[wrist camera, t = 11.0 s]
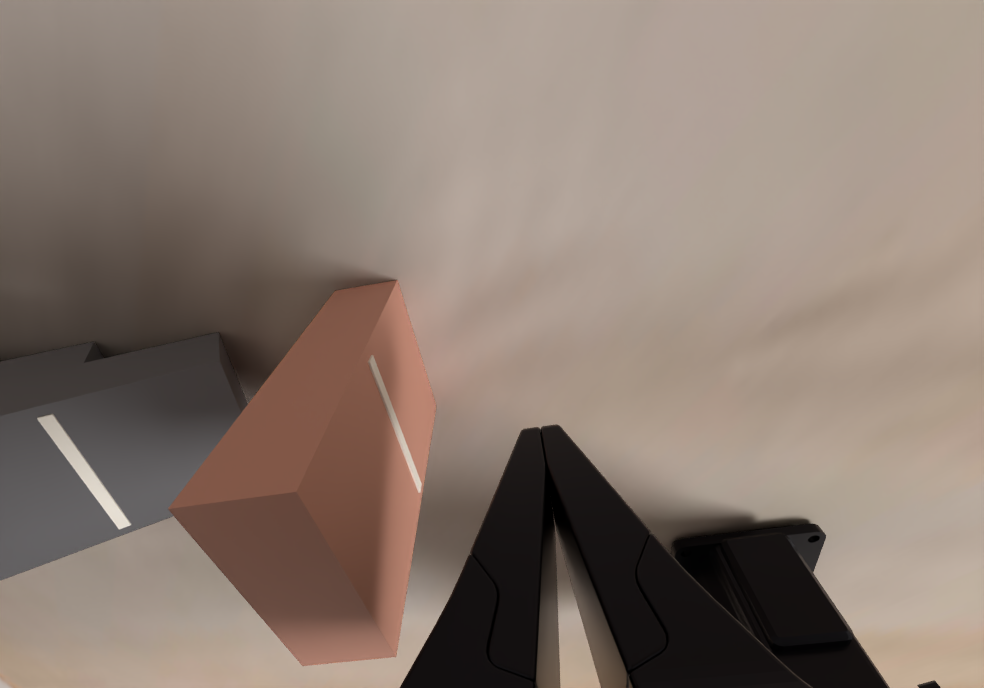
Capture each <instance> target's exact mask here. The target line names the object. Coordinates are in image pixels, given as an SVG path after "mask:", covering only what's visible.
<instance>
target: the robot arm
mask: <svg viewBox="0 0 984 688" xmlns="http://www.w3.org/2000/svg"><path fill="white" fill-rule="evenodd" d="M551 501H552V502H551ZM552 508H553V509H552ZM553 514H554V516H553ZM554 520H555V524H554ZM555 525H556V529H557V533H558V537H559V541H560V544H561V548H562V551H563V555H564V559H565V562H566V566H567V569H568V573H569V576H570V580H571V583H572V587H573V590H574V594H575V597H576V601H577V604H578V608H579V611H580V615H581V619H582V622H583V626H584V629H585V633H586V636H587V640H588V643H589V647H590V650H591V654H592V657H593V661H594V664H595V668H596V672H597V675H598V679H599V682H600V686H601V688H890V687H889V686H888V684H887V683H886V681H885V680H884V679H883V677H882V676H881V674H880V673H879V671H878V670H877V668H876V667H875V665H874V664H873V662H872V661H871V659H870V658H869V656H868V655H867V653H866V652H865V650H864V649H863V648H862V646H861V645H860V643H859V642H858V640H857V639H856V637H855V636H854V634H853V632H852V630H851V628H850V627H849V625H848V624H847V622H846V621H845V619H844V618H843V616H842V615H841V614H840V612H839V611H838V609H837V608H836V606H835V605H834V603H833V602H832V600H831V599H830V597H829V596H828V594H827V593H826V591H825V590H824V588H823V587H822V586H821V584H820V583H819V581H818V580H817V578H816V577H815V575H814V574H813V572H814V569H815V566H816V563H817V560H818V558H819V555H820V552H821V549H822V547H823V544H824V541H825V538H826V535H825V533H824V532H823V531H822V530H821V528H820V527H819V526H818V525H816V524H805V525H797V526H788V527H779V528H771V529H762V530H753V531H745V532H736V533H727V534H719V535H710V536H702V537H693V538H684V539H680V540H677V541H675V542H674V543H673V545H672V550H671V554H670V553H669V552H668V551H667V550H666V548H665V547H664V546H663V545H662V544H661V543H660V541H659V540H658V539H657V538H656V537H655V536H654V535H653V534H651V532H650V530H649V529H648V528H647V527H646V525H645V524H644V523H643V522H642V521H641V520H640V518H639V517H638V516H637V515H636V514H635V513H634V511H633V510H632V509H631V508H630V507H629V506H628V504H627V503H626V502H625V501H624V500H623V499H622V497H621V496H620V495H619V494H618V493H617V492H616V490H615V489H614V488H613V487H612V486H611V485H610V484H609V482H608V481H607V480H606V479H605V478H604V477H603V475H602V474H601V473H600V472H599V471H598V470H597V468H596V467H595V466H594V465H593V464H592V463H591V461H590V460H589V459H588V458H587V457H586V456H585V454H584V453H583V452H582V451H581V450H580V449H579V447H578V446H577V445H576V444H575V443H574V442H573V440H572V439H571V438H570V437H569V436H568V435H567V434H566V432H565V431H564V430H563V429H562V428H561V427H560V426H559V425H549V426H543V427H541V430H540V428H538V427H534V428H527V429H523V430H522V431H521V432H520V435H519V437H518V439H517V442H516V444H515V447H514V449H513V451H512V454H511V456H510V458H509V461H508V463H507V466H506V468H505V470H504V473H503V475H502V477H501V480H500V482H499V485H498V487H497V489H496V492H495V494H494V496H493V499H492V501H491V504H490V506H489V508H488V511H487V513H486V516H485V518H484V520H483V523H482V525H481V527H480V530H479V532H478V535H477V537H476V539H475V542H474V544H473V546H472V549H471V551H470V553H471V555H469V556H468V558H467V560H466V563H465V565H464V567H463V570H462V572H461V574H460V577H459V579H458V581H457V583H456V585H455V587H454V590H453V592H452V594H451V596H450V598H449V600H448V602H447V604H446V606H445V608H444V610H443V611H442V613H441V615H440V617H439V619H438V621H437V623H436V625H435V626H434V628H433V630H432V632H431V633H430V635H429V637H428V639H427V641H426V642H425V644H424V646H423V648H422V649H421V651H420V653H419V655H418V657H417V658H416V660H415V662H414V664H413V665H412V667H411V669H410V671H409V672H408V674H407V676H406V678H405V680H404V681H403V683H402V685H401V687H400V688H560V662H559V631H558V600H557V568H556V537H555ZM917 686H918V687H919V688H940V686H939V685H938V684H937V683H936V681H935V680H934V681H931V682H927V683H923V684H919V685H917Z"/></svg>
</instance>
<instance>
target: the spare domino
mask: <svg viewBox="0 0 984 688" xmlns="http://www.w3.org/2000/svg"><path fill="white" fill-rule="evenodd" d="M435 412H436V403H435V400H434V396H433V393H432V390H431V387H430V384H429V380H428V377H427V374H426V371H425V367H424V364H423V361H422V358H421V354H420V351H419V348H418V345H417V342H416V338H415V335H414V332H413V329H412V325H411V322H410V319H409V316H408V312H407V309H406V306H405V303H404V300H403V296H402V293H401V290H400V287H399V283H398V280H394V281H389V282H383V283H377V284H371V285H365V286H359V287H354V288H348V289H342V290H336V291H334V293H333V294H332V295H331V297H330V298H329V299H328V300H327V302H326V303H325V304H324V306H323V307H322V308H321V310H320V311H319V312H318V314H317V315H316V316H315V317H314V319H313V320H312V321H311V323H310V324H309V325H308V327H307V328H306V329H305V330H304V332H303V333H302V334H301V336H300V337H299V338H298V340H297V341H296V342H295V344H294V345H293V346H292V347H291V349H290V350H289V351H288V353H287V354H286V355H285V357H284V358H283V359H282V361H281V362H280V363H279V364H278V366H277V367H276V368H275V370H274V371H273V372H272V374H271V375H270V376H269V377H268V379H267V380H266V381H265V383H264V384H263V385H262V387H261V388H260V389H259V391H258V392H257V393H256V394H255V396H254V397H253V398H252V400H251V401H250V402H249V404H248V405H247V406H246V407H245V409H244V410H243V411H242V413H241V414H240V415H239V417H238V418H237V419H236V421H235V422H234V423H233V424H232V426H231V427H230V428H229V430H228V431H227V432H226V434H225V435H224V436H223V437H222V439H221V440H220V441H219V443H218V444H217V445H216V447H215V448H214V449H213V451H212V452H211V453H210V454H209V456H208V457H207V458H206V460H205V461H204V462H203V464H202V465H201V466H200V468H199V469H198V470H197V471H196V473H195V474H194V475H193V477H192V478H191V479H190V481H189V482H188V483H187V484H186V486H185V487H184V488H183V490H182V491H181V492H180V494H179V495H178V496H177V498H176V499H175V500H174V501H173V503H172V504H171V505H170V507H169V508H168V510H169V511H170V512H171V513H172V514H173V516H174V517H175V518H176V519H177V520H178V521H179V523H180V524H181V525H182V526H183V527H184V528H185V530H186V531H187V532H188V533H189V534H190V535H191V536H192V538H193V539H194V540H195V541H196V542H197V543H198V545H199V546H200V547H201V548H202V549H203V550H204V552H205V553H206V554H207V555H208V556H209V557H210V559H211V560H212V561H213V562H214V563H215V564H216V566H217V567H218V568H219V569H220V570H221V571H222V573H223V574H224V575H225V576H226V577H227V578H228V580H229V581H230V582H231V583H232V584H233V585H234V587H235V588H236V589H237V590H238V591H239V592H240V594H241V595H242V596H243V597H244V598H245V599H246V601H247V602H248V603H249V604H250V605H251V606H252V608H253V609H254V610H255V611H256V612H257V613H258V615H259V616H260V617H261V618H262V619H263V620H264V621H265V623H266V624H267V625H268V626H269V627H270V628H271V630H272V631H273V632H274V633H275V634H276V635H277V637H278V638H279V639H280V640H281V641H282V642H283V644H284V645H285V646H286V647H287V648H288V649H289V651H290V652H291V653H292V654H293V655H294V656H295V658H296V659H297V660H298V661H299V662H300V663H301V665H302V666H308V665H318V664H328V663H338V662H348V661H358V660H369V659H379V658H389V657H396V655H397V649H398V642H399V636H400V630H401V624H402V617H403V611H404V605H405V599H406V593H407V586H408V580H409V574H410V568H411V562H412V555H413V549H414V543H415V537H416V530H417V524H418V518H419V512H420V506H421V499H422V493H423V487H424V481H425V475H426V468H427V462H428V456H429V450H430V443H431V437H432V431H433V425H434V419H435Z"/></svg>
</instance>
